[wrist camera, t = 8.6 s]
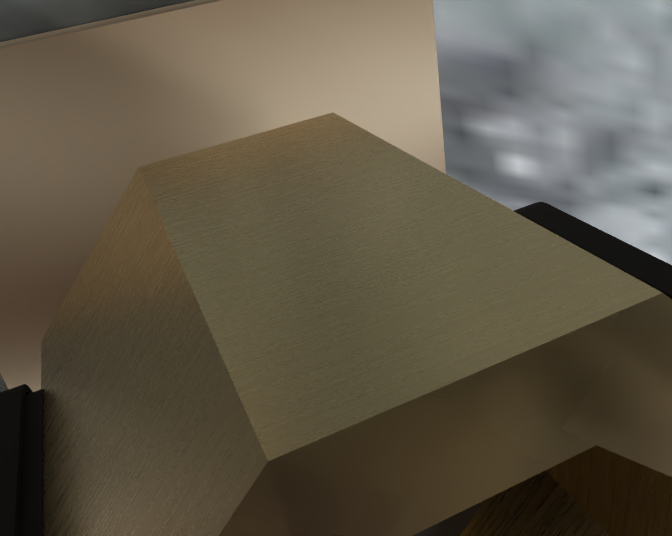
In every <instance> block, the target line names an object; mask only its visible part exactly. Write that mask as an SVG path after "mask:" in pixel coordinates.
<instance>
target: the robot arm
mask: <svg viewBox="0 0 672 536" xmlns="http://www.w3.org/2000/svg"><path fill="white" fill-rule="evenodd" d="M514 212H516V213H518V214H520V215H522V216H523V217H525V218H527V219H529V220H531V221H533V222H534V223H536V224H538V225H540V226H542V227H543V228H545V229H547V230H549V231H551V232H553V233H554V234H556V235H558V236H560V237H562V238H564V239H565V240H567V241H569V242H571V243H573V244H575V245H576V246H578V247H580V248H582V249H584V250H585V251H587V252H589V253H591V254H593V255H595V256H596V257H598V258H600V259H602V260H604V261H606V262H607V263H609V264H611V265H613V266H615V267H617V268H618V269H620V270H622V271H624V272H626V273H627V274H629V275H631V276H633V277H635V278H637V279H638V280H640V281H642V282H644V283H646V284H648V285H649V286H651V287H653V288H655V289H657V290H659V291H660V292H662V293H664V294H665V295H666V296H668V297H669V298H670V299H672V265H670V264H668V263H666V262H664V261H662V260H660V259H658V258H656V257H654V256H652V255H650V254H648V253H646V252H644V251H642V250H640V249H638V248H636V247H634V246H632V245H629V244H627V243H625V242H623V241H621V240H619V239H617V238H615V237H613V236H611V235H609V234H607V233H605V232H603V231H601V230H599V229H597V228H595V227H593V226H591V225H589V224H587V223H585V222H583V221H581V220H579V219H577V218H575V217H573V216H571V215H569V214H567V213H565V212H563V211H561V210H559V209H557V208H555V207H553V206H551V205H549V204H547V203H544V202H537V203H534V204H531V205H528V206H526V207H523V208H520V209H517V210H514ZM0 536H43V389H40V390H38V391H35V392H32V390H31V389H30V387H29V386H28V385H26V384H23V385H20V386H17V387H14V388H12V389H9V390H6V391H3V392H0Z"/></svg>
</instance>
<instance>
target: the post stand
mask: <svg viewBox="0 0 672 536" xmlns="http://www.w3.org/2000/svg"><path fill="white" fill-rule="evenodd" d="M332 112H334V113H335V114H337V115H339V116H341V117H343V118H344V119H346V120H348V121H350V122H352V123H354V124H355V125H357V126H359V127H361V128H363V129H365V130H366V131H368V132H370V133H372V134H374V135H376V136H377V137H379V138H381V139H383V140H385V141H386V142H388V143H390V144H392V145H394V146H396V147H397V148H399V149H401V150H403V151H405V152H407V153H408V154H410V155H412V156H414V157H416V158H417V159H419V160H421V161H423V162H425V163H427V164H428V165H430V166H432V167H434V168H436V169H438V170H439V171H441V172H443V173H445V174H446V169H445V156H444V143H443V130H442V116H441V103H440V90H439V77H438V64H437V50H436V37H435V24H434V11H433V0H194V1H189V2H184V3H180V4H175V5H170V6H166V7H161V8H156V9H152V10H147V11H143V12H138V13H133V14H129V15H124V16H119V17H115V18H110V19H105V20H101V21H96V22H91V23H87V24H82V25H77V26H73V27H68V28H64V29H59V30H54V31H50V32H45V33H40V34H36V35H31V36H26V37H22V38H17V39H12V40H8V41H3V42H0V374H1V376H2V378H3V380H4V382H5V383H6V385H7V387H8V389H12V388H14V387H17V386H20V385H23V384H26V385H28V386H29V387H30V389H31V390H32V392H35V391H38V390H40V389H41V340H42V338H43V337H44V335H45V333H46V331H47V329H48V328H49V326H50V324H51V322H52V320H53V319H54V317H55V315H56V313H57V312H58V310H59V308H60V306H61V304H62V303H63V301H64V299H65V297H66V295H67V294H68V292H69V290H70V288H71V287H72V285H73V283H74V281H75V279H76V278H77V276H78V274H79V272H80V270H81V269H82V267H83V265H84V263H85V261H86V260H87V258H88V256H89V254H90V253H91V251H92V249H93V247H94V245H95V244H96V242H97V240H98V238H99V236H100V235H101V233H102V231H103V229H104V228H105V226H106V224H107V222H108V220H109V219H110V217H111V215H112V213H113V211H114V210H115V208H116V206H117V204H118V203H119V201H120V199H121V197H122V195H123V194H124V192H125V190H126V188H127V186H128V185H129V183H130V181H131V179H132V178H133V176H134V174H135V172H136V170H137V169H138V167H140V166H144V165H148V164H151V163H155V162H158V161H162V160H165V159H169V158H172V157H176V156H180V155H183V154H187V153H190V152H194V151H197V150H201V149H204V148H208V147H212V146H215V145H219V144H222V143H226V142H229V141H233V140H236V139H240V138H244V137H247V136H251V135H254V134H258V133H261V132H265V131H268V130H272V129H276V128H279V127H283V126H286V125H290V124H293V123H297V122H300V121H304V120H308V119H311V118H315V117H318V116H322V115H325V114H329V113H332ZM480 504H481V502H480V503H478V504H476V505H474V506H472V507H470V508H468V509H466V510H464V511H462V512H460V513H457V514H455V515H453V516H451V517H449V518H447V519H445V520H443V521H441V522H439V523H437V524H435V525H433V526H431V527H429V528H427V529H425V530H423V531H421V532H419V533H417V534H415V535H413V536H459V535H460V534H461V533H462V532H463V530H464V529H465V528H466V527H467V525H468V524H469V522H470V521H471V520H472V518H473V517H474V515H475V513H476V511H477V509H478V508H479V506H480Z"/></svg>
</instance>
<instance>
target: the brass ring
mask: <svg viewBox="0 0 672 536" xmlns="http://www.w3.org/2000/svg"><path fill="white" fill-rule="evenodd" d="M41 389H43V536H413V535H415V534H417V533H419V532H421V531H423V530H425V529H427V528H429V527H431V526H433V525H435V524H437V523H439V522H441V521H443V520H445V519H447V518H449V517H451V516H453V515H455V514H457V513H460V512H462V511H464V510H466V509H468V508H470V507H472V506H474V505H476V504H478V503H480V502H481V504H480V506H479V508H478V509H477V511H476V513H475V515H474V517H473V518H472V520H471V521H470V522H469V524H468V525H467V527H466V528H465V529H464V530H463V532H462V533H461V534H460V535H459V536H672V299H670V298H669V297H668V296H666V295H665V294H664V293H662V292H660V291H659V290H657V289H655V288H653V287H651V286H649V285H648V284H646V283H644V282H642V281H640V280H638V279H637V278H635V277H633V276H631V275H629V274H627V273H626V272H624V271H622V270H620V269H618V268H617V267H615V266H613V265H611V264H609V263H607V262H606V261H604V260H602V259H600V258H598V257H596V256H595V255H593V254H591V253H589V252H587V251H585V250H584V249H582V248H580V247H578V246H576V245H575V244H573V243H571V242H569V241H567V240H565V239H564V238H562V237H560V236H558V235H556V234H554V233H553V232H551V231H549V230H547V229H545V228H543V227H542V226H540V225H538V224H536V223H534V222H533V221H531V220H529V219H527V218H525V217H523V216H522V215H520V214H518V213H516V212H514V211H512V210H511V209H509V208H507V207H505V206H503V205H501V204H500V203H498V202H496V201H494V200H492V199H491V198H489V197H487V196H485V195H483V194H481V193H480V192H478V191H476V190H474V189H472V188H470V187H469V186H467V185H465V184H463V183H461V182H459V181H458V180H456V179H454V178H452V177H450V176H449V175H447V174H445V173H443V172H441V171H439V170H438V169H436V168H434V167H432V166H430V165H428V164H427V163H425V162H423V161H421V160H419V159H417V158H416V157H414V156H412V155H410V154H408V153H407V152H405V151H403V150H401V149H399V148H397V147H396V146H394V145H392V144H390V143H388V142H386V141H385V140H383V139H381V138H379V137H377V136H376V135H374V134H372V133H370V132H368V131H366V130H365V129H363V128H361V127H359V126H357V125H355V124H354V123H352V122H350V121H348V120H346V119H344V118H343V117H341V116H339V115H337V114H335V113H334V112H332V113H329V114H325V115H322V116H318V117H315V118H311V119H308V120H304V121H300V122H297V123H293V124H290V125H286V126H283V127H279V128H276V129H272V130H268V131H265V132H261V133H258V134H254V135H251V136H247V137H244V138H240V139H236V140H233V141H229V142H226V143H222V144H219V145H215V146H212V147H208V148H204V149H201V150H197V151H194V152H190V153H187V154H183V155H180V156H176V157H172V158H169V159H165V160H162V161H158V162H155V163H151V164H148V165H144V166H140V167H138V169H137V170H136V172H135V174H134V176H133V178H132V179H131V181H130V183H129V185H128V186H127V188H126V190H125V192H124V194H123V195H122V197H121V199H120V201H119V203H118V204H117V206H116V208H115V210H114V211H113V213H112V215H111V217H110V219H109V220H108V222H107V224H106V226H105V228H104V229H103V231H102V233H101V235H100V236H99V238H98V240H97V242H96V244H95V245H94V247H93V249H92V251H91V253H90V254H89V256H88V258H87V260H86V261H85V263H84V265H83V267H82V269H81V270H80V272H79V274H78V276H77V278H76V279H75V281H74V283H73V285H72V287H71V288H70V290H69V292H68V294H67V295H66V297H65V299H64V301H63V303H62V304H61V306H60V308H59V310H58V312H57V313H56V315H55V317H54V319H53V320H52V322H51V324H50V326H49V328H48V329H47V331H46V333H45V335H44V337H43V338H42V340H41Z"/></svg>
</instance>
